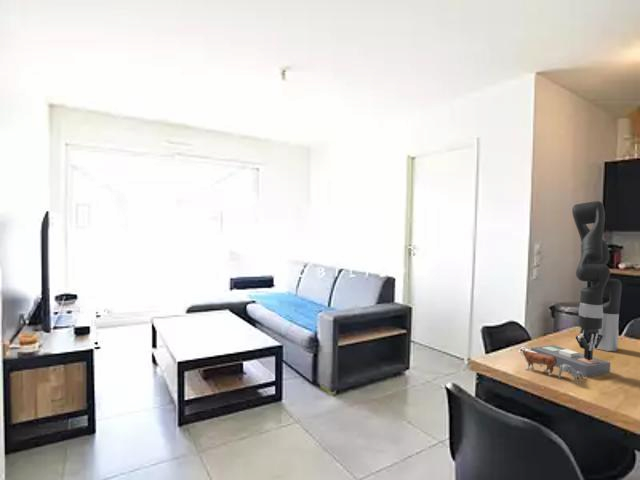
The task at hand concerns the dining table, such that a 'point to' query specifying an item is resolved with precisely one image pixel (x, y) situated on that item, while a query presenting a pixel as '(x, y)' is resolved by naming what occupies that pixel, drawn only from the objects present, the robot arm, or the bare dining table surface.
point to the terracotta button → (587, 361)
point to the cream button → (569, 353)
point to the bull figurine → (538, 359)
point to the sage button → (551, 349)
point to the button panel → (576, 362)
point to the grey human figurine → (570, 371)
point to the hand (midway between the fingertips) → (588, 359)
